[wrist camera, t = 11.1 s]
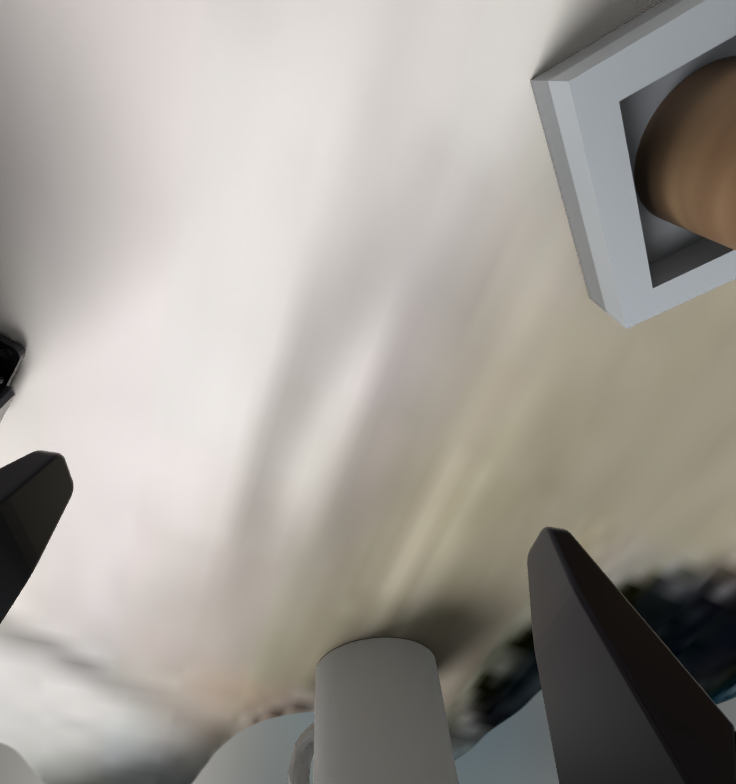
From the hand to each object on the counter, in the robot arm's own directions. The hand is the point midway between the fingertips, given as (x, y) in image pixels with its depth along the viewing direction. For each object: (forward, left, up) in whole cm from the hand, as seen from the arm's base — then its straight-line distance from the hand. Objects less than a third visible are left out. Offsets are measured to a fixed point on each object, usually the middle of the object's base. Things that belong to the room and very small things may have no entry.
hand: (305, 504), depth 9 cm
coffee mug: (+23, -25, -12) cm, 37 cm away
